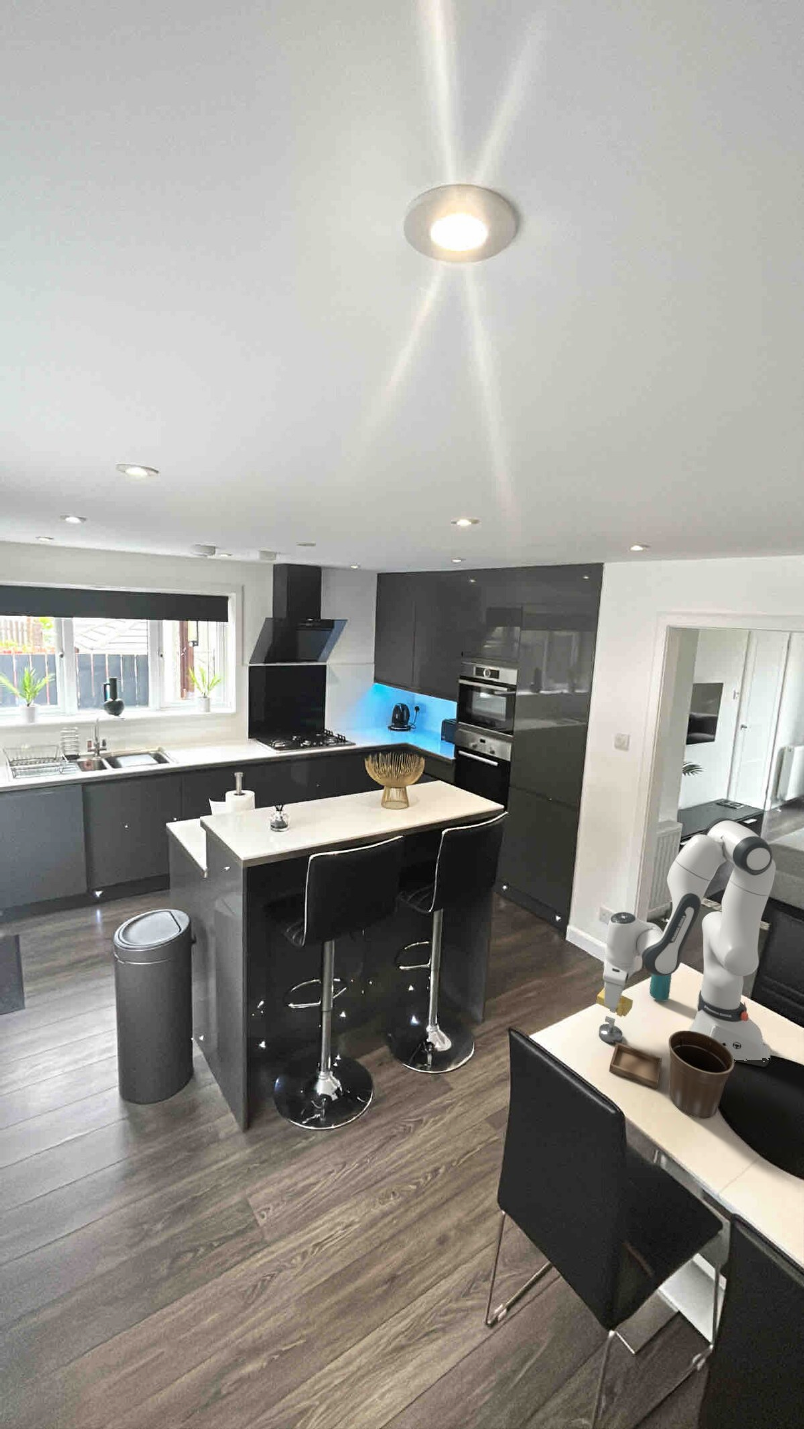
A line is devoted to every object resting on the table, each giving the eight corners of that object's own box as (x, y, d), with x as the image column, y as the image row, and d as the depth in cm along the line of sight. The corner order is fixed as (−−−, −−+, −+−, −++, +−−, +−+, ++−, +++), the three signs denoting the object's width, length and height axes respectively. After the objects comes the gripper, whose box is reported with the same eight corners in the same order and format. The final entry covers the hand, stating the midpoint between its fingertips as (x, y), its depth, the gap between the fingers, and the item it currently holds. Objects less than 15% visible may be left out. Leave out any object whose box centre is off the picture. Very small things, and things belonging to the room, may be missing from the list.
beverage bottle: (670, 1006, 212) (677, 953, 209) (649, 1003, 213) (656, 950, 210) (666, 994, 218) (673, 943, 215) (646, 991, 220) (653, 940, 216)
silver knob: (623, 1034, 197) (625, 1017, 196) (619, 1047, 191) (621, 1030, 190) (601, 1026, 201) (602, 1009, 199) (596, 1039, 195) (598, 1021, 193)
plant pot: (736, 1107, 170) (745, 1055, 167) (709, 1137, 160) (717, 1082, 157) (679, 1071, 183) (686, 1022, 180) (650, 1097, 173) (657, 1046, 170)
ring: (603, 994, 199) (604, 987, 199) (631, 1007, 194) (633, 1000, 193) (594, 1004, 194) (596, 997, 194) (624, 1018, 188) (625, 1010, 188)
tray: (661, 1064, 185) (661, 1058, 184) (656, 1089, 175) (657, 1082, 175) (615, 1048, 191) (616, 1042, 190) (609, 1071, 181) (609, 1064, 181)
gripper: (614, 945, 202) (610, 983, 204) (601, 977, 184) (598, 1019, 187) (634, 950, 199) (631, 989, 201) (624, 984, 181) (620, 1026, 184)
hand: (615, 1004), depth 194 cm, fingers closed on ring, 6 cm apart
